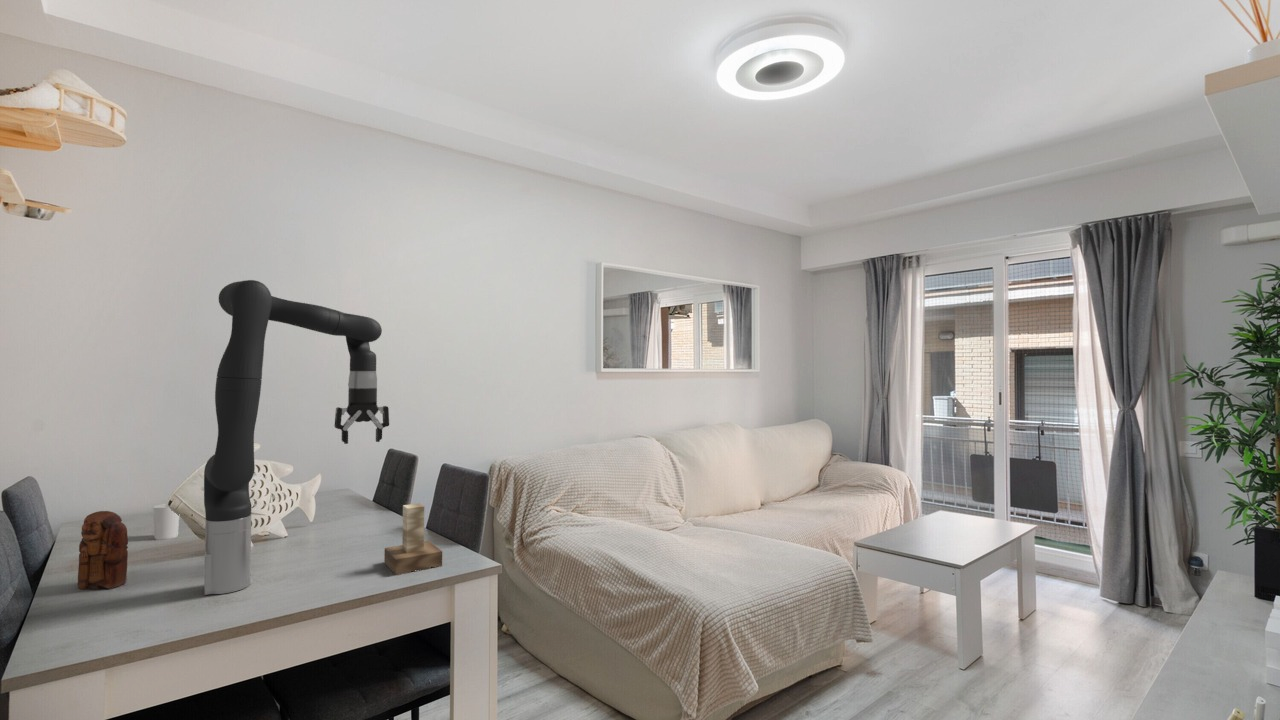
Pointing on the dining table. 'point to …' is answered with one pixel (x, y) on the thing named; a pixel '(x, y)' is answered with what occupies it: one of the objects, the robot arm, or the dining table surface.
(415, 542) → the birch pillar
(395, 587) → the dining table surface
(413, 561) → the walnut plinth
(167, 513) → the drinking glass
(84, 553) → the wooden figurine
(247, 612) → the dining table surface
